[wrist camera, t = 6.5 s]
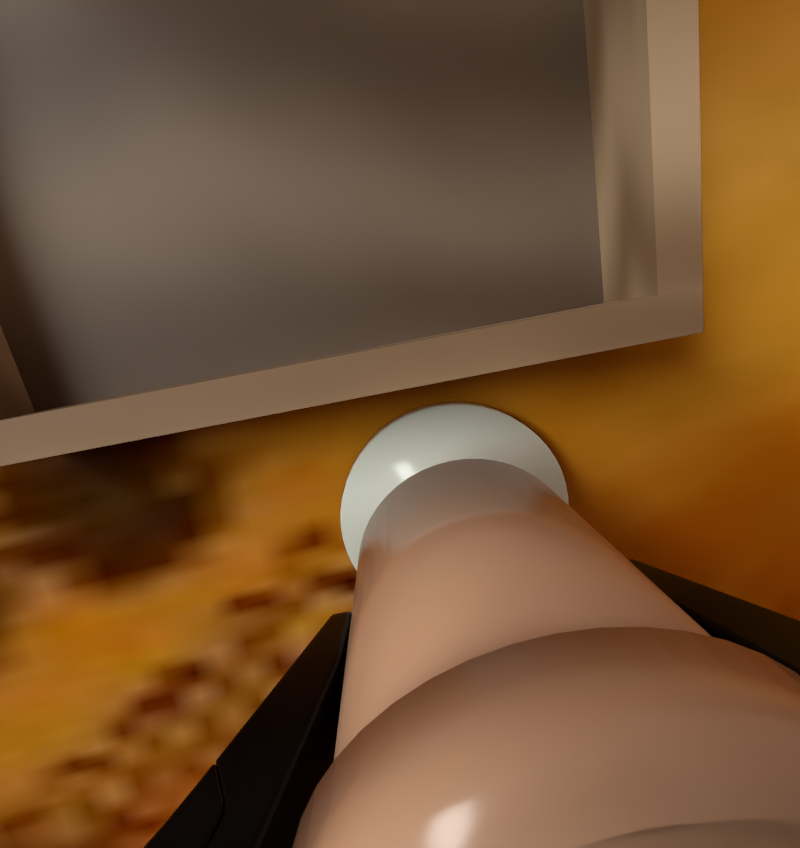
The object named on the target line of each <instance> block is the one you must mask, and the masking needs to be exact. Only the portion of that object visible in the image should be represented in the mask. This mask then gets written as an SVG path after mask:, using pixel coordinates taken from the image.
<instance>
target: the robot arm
mask: <svg viewBox="0 0 800 848" xmlns="http://www.w3.org/2000/svg"><path fill="white" fill-rule="evenodd" d="M628 560H629V561H630V562H631V563H632V564H633V565H634V566H635V567H636V568H638V569H639V570H640V571H641V572H642V573H643V574H644V575H645V576H646V577H647V578H648V579H650V580H651V581H652V582H653V583H654V584H655V585H656V586H657V587H658V588H659V589H660V590H662V591H663V592H664V593H665V594H666V595H667V596H668V597H669V598H670V599H671V600H672V601H674V602H675V603H676V604H677V605H678V606H679V607H680V608H681V609H682V610H683V611H684V612H686V613H687V614H688V615H689V616H690V617H691V618H692V619H693V620H694V621H695V622H696V623H697V624H699V625H700V626H701V627H702V628H703V629H704V630H705V631H706V632H707V633H708V634H709V635H711V636H712V637H715V638H719V639H723V640H728V641H730V642H733V643H735V644H738V645H741V646H743V647H746V648H749V649H751V650H754V651H756V652H759V653H762V654H764V655H766V656H768V657H770V658H771V659H773V660H775V661H777V662H778V663H780V664H782V665H784V666H786V667H787V668H789V669H791V670H793V671H794V672H796V673H797V674H799V675H800V621H799V620H796V619H793V618H790V617H788V616H785V615H782V614H780V613H777V612H774V611H771V610H769V609H766V608H763V607H761V606H758V605H755V604H752V603H750V602H747V601H744V600H742V599H739V598H736V597H733V596H731V595H728V594H725V593H723V592H720V591H717V590H715V589H712V588H709V587H706V586H704V585H701V584H698V583H696V582H693V581H690V580H687V579H685V578H682V577H679V576H677V575H674V574H671V573H668V572H666V571H663V570H660V569H658V568H655V567H652V566H649V565H647V564H644V563H641V562H639V561H636V560H633V559H628ZM351 615H352V613H351V612H343V613H338V614H334V615H332V616H331V617H330V618H329V619H328V621H327V622H326V623H325V624H324V626H323V627H322V628H321V629H320V631H319V632H318V633H317V635H316V636H315V637H314V638H313V640H312V641H311V642H310V643H309V645H308V646H307V647H306V648H305V650H304V651H303V652H302V653H301V655H300V656H299V657H298V658H297V660H296V661H295V662H294V663H293V665H292V666H291V667H290V668H289V670H288V671H287V672H286V673H285V675H284V676H283V677H282V678H281V680H280V681H279V682H278V683H277V685H276V686H275V687H274V688H273V690H272V691H271V692H270V694H269V695H268V696H267V697H266V699H265V700H264V701H263V702H262V704H261V705H260V706H259V707H258V709H257V710H256V711H255V712H254V714H253V715H252V716H251V717H250V719H249V720H248V721H247V722H246V724H245V725H244V726H243V727H242V729H241V730H240V731H239V732H238V734H237V735H236V736H235V737H234V739H233V740H232V741H231V742H230V744H229V745H228V746H227V747H226V749H225V750H224V751H223V753H222V754H221V755H220V756H219V758H218V759H217V760H216V765H212V766H211V767H210V769H209V770H208V771H207V772H206V774H205V775H204V776H203V777H202V779H201V780H200V781H199V782H198V784H197V785H196V786H195V787H194V789H193V790H192V791H191V792H190V793H189V795H188V796H187V797H186V798H185V800H184V801H183V802H182V803H181V804H180V806H179V807H178V808H177V809H176V810H175V812H174V813H173V814H172V815H171V816H170V818H169V819H168V820H167V821H166V822H165V824H164V825H163V826H162V827H161V828H160V829H159V831H158V832H157V833H156V834H155V835H154V836H153V837H152V839H151V840H150V841H149V842H148V843H147V844H146V845H145V846H144V848H292V847H293V843H294V840H295V836H296V833H297V830H298V826H299V823H300V819H301V817H302V815H303V813H304V810H305V808H306V806H307V804H308V802H309V800H310V798H311V796H312V794H313V792H314V790H315V788H316V786H317V785H318V783H319V782H320V780H321V779H322V777H323V776H324V774H325V773H326V772H327V770H328V769H329V767H330V766H331V764H332V763H333V761H334V754H335V746H336V738H337V730H338V721H339V713H340V705H341V697H342V689H343V681H344V672H345V664H346V656H347V648H348V640H349V632H350V624H351Z"/></svg>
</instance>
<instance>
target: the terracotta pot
mask: <svg viewBox="0 0 800 848" xmlns="http://www.w3.org/2000/svg"><path fill="white" fill-rule="evenodd" d="M292 848H800V675H799V674H797V673H796V672H794V671H793V670H791V669H789V668H787V667H786V666H784V665H782V664H780V663H778V662H777V661H775V660H773V659H771V658H770V657H768V656H766V655H764V654H762V653H759V652H756V651H754V650H751V649H749V648H746V647H743V646H741V645H738V644H735V643H733V642H730V641H728V640H723V639H719V638H715V637H712V636H711V635H709V634H708V633H707V632H706V631H705V630H704V629H703V628H702V627H701V626H700V625H699V624H697V623H696V622H695V621H694V620H693V619H692V618H691V617H690V616H689V615H688V614H687V613H686V612H684V611H683V610H682V609H681V608H680V607H679V606H678V605H677V604H676V603H675V602H674V601H672V600H671V599H670V598H669V597H668V596H667V595H666V594H665V593H664V592H663V591H662V590H660V589H659V588H658V587H657V586H656V585H655V584H654V583H653V582H652V581H651V580H650V579H648V578H647V577H646V576H645V575H644V574H643V573H642V572H641V571H640V570H639V569H638V568H636V567H635V566H634V565H633V564H632V563H631V562H630V561H629V560H628V559H627V558H626V557H624V556H623V555H622V554H621V553H620V552H619V551H618V550H617V549H616V548H615V547H614V546H612V545H611V544H610V543H609V542H608V541H607V540H606V539H605V538H604V537H603V536H602V535H600V534H599V533H598V532H597V531H596V530H595V529H594V528H593V527H592V526H591V525H590V524H588V523H587V522H586V521H585V520H584V519H583V518H582V517H581V516H580V515H579V514H578V513H576V512H575V511H574V510H573V509H572V508H571V507H570V506H569V505H568V504H567V503H566V502H564V501H563V500H562V499H561V498H560V497H559V496H558V495H557V494H556V493H555V492H554V491H552V490H551V489H550V488H549V487H548V486H547V485H546V484H544V483H543V482H542V481H541V480H539V479H538V478H537V477H535V476H534V475H532V474H530V473H528V472H527V471H525V470H523V469H520V468H518V467H516V466H513V465H511V464H507V463H503V462H499V461H494V460H487V459H461V460H454V461H449V462H445V463H441V464H437V465H434V466H432V467H429V468H427V469H424V470H422V471H420V472H418V473H416V474H414V475H412V476H411V477H409V478H407V479H406V480H405V481H403V482H402V483H401V484H399V485H398V486H397V487H395V488H394V489H393V490H392V491H391V492H390V493H389V494H388V495H387V496H386V497H385V498H384V499H383V501H382V502H381V503H380V504H379V506H378V507H377V508H376V510H375V511H374V513H373V515H372V516H371V518H370V520H369V522H368V524H367V526H366V529H365V531H364V534H363V537H362V541H361V544H360V551H359V558H358V567H357V575H356V583H355V591H354V599H353V607H352V615H351V624H350V632H349V640H348V648H347V656H346V664H345V672H344V681H343V689H342V697H341V705H340V713H339V721H338V730H337V738H336V746H335V754H334V761H333V763H332V764H331V766H330V767H329V769H328V770H327V772H326V773H325V774H324V776H323V777H322V779H321V780H320V782H319V783H318V785H317V786H316V788H315V790H314V792H313V794H312V796H311V798H310V800H309V802H308V804H307V806H306V808H305V810H304V813H303V815H302V817H301V819H300V823H299V826H298V830H297V833H296V836H295V840H294V843H293V847H292Z"/></svg>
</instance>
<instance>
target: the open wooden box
mask: <svg viewBox="0 0 800 848" xmlns="http://www.w3.org/2000/svg"><path fill="white" fill-rule="evenodd" d="M702 332H704V323H703V260H702V197H701V134H700V71H699V7H698V0H0V466H4V465H9V464H14V463H19V462H25V461H30V460H35V459H40V458H46V457H51V456H56V455H61V454H67V453H72V452H77V451H82V450H88V449H93V448H98V447H103V446H109V445H114V444H119V443H124V442H130V441H135V440H140V439H145V438H151V437H156V436H161V435H166V434H172V433H177V432H182V431H187V430H193V429H198V428H203V427H208V426H214V425H219V424H224V423H229V422H235V421H240V420H245V419H250V418H256V417H261V416H266V415H271V414H277V413H282V412H287V411H292V410H298V409H303V408H308V407H313V406H319V405H324V404H329V403H334V402H340V401H345V400H350V399H355V398H361V397H366V396H371V395H376V394H382V393H387V392H392V391H397V390H403V389H408V388H413V387H418V386H424V385H429V384H434V383H439V382H445V381H450V380H455V379H460V378H466V377H471V376H476V375H481V374H487V373H492V372H497V371H502V370H508V369H513V368H518V367H523V366H529V365H534V364H539V363H544V362H550V361H555V360H560V359H565V358H571V357H576V356H581V355H586V354H592V353H597V352H602V351H607V350H613V349H618V348H623V347H628V346H634V345H639V344H644V343H649V342H655V341H660V340H665V339H670V338H676V337H681V336H686V335H691V334H697V333H702Z"/></svg>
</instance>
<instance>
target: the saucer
mask: <svg viewBox="0 0 800 848" xmlns="http://www.w3.org/2000/svg"><path fill="white" fill-rule="evenodd" d="M461 459H487V460H494V461H499V462H503V463H507V464H511V465H513V466H516V467H518V468H520V469H523V470H525V471H527V472H528V473H530V474H532V475H534V476H535V477H537V478H538V479H539V480H541V481H542V482H543V483H544V484H546V485H547V486H548V487H549V488H550V489H551V490H552V491H554V492H555V493H556V494H557V495H558V496H559V497H560V498H561V499H562V500H563V501H564V502H566V503H567V504H568V505H569V501H568V492H567V486H566V482H565V479H564V476H563V473H562V470H561V468H560V466H559V464H558V462H557V460H556V458H555V456H554V455H553V453H552V452H551V450H550V449H549V448H548V446H547V445H546V444H545V443H544V442H543V441H542V440H541V439H540V437H539V436H538V435H537V434H535V433H534V432H533V431H532V430H530V429H529V428H528V427H527V426H525V425H524V424H522V423H521V422H519V421H518V420H516V419H514V418H513V417H511V416H509V415H508V414H506V413H504V412H502V411H499V410H497V409H495V408H492V407H489V406H485V405H482V404H478V403H471V402H464V401H447V402H439V403H432V404H428V405H425V406H421V407H418V408H415V409H413V410H410V411H408V412H405V413H403V414H401V415H400V416H398V417H396V418H394V419H393V420H391V421H390V422H388V423H387V424H386V425H384V426H383V427H382V428H380V429H379V430H378V431H377V432H376V433H375V434H374V435H373V436H372V437H371V438H370V439H369V440H368V442H367V443H366V444H365V445H364V447H363V448H362V449H361V451H360V452H359V454H358V456H357V457H356V459H355V461H354V463H353V465H352V467H351V470H350V472H349V475H348V478H347V482H346V485H345V489H344V493H343V497H342V504H341V530H342V536H343V541H344V544H345V547H346V551H347V553H348V555H349V558H350V560H351V562H352V564H353V566H354V567H355V569H356V570H357V567H358V558H359V551H360V544H361V541H362V537H363V534H364V531H365V529H366V526H367V524H368V522H369V520H370V518H371V516H372V515H373V513H374V511H375V510H376V508H377V507H378V506H379V504H380V503H381V502H382V501H383V499H384V498H385V497H386V496H387V495H388V494H389V493H390V492H391V491H392V490H393V489H394V488H395V487H397V486H398V485H399V484H401V483H402V482H403V481H405V480H406V479H407V478H409V477H411V476H412V475H414V474H416V473H418V472H420V471H422V470H424V469H427V468H429V467H432V466H434V465H437V464H441V463H445V462H449V461H454V460H461Z"/></svg>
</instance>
